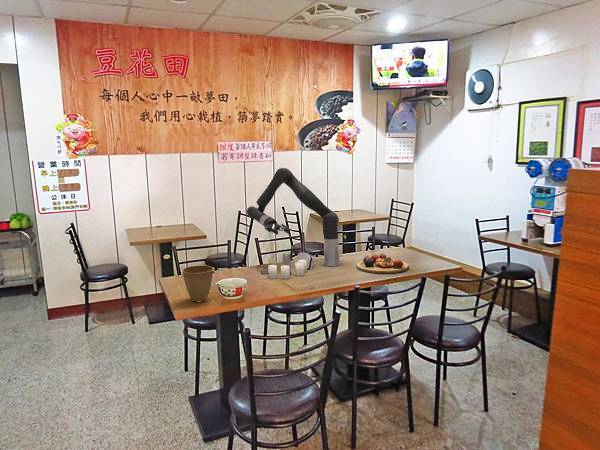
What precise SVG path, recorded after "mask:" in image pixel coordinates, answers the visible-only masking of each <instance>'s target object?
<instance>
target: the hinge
mask: <svg viewBox="0 0 600 450" xmlns="http://www.w3.org/2000/svg"><path fill="white" fill-rule="evenodd" d="M314 259H315V258H314V257H313V256H312V255H311V254H309V253H307V252H302V251H301V252H298V253H297V257H296V260H295V261H294V262H293V264H292V265H293V266H294V267H295V263H298V260H306V263H307V269H309V270H313V264H314Z"/></svg>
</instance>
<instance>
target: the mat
mask: <svg viewBox="0 0 600 450" xmlns="http://www.w3.org/2000/svg"><path fill="white" fill-rule="evenodd" d="M260 274H261V275H269V274H268V269H265V270H264V269H263V270H260Z"/></svg>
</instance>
